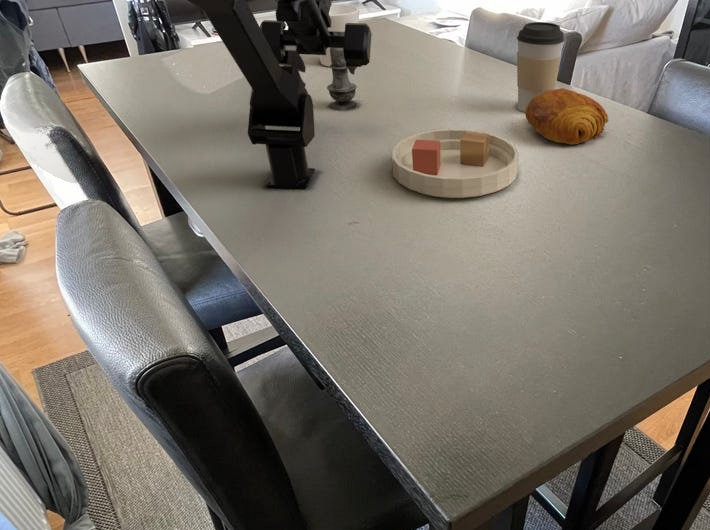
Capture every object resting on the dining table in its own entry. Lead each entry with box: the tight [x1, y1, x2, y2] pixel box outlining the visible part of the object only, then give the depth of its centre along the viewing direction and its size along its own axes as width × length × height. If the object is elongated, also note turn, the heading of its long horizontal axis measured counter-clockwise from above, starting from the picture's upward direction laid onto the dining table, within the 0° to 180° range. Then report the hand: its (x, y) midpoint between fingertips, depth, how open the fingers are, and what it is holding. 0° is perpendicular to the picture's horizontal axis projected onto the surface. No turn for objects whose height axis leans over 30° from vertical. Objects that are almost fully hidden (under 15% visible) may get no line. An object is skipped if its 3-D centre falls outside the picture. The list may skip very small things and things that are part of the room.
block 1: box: [412, 140, 441, 175], centre depth 94 cm, size 4×4×4 cm
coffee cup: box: [516, 21, 565, 113], centre depth 115 cm, size 9×9×15 cm
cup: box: [318, 3, 360, 68], centre depth 138 cm, size 12×12×11 cm
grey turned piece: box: [326, 48, 358, 111], centre depth 115 cm, size 6×6×12 cm
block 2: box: [460, 131, 491, 167], centre depth 97 cm, size 4×4×4 cm
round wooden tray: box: [391, 128, 520, 199], centre depth 95 cm, size 20×20×4 cm
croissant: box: [524, 87, 609, 145], centre depth 108 cm, size 14×16×8 cm
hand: (329, 70), depth 108 cm, fingers open, 9 cm apart
